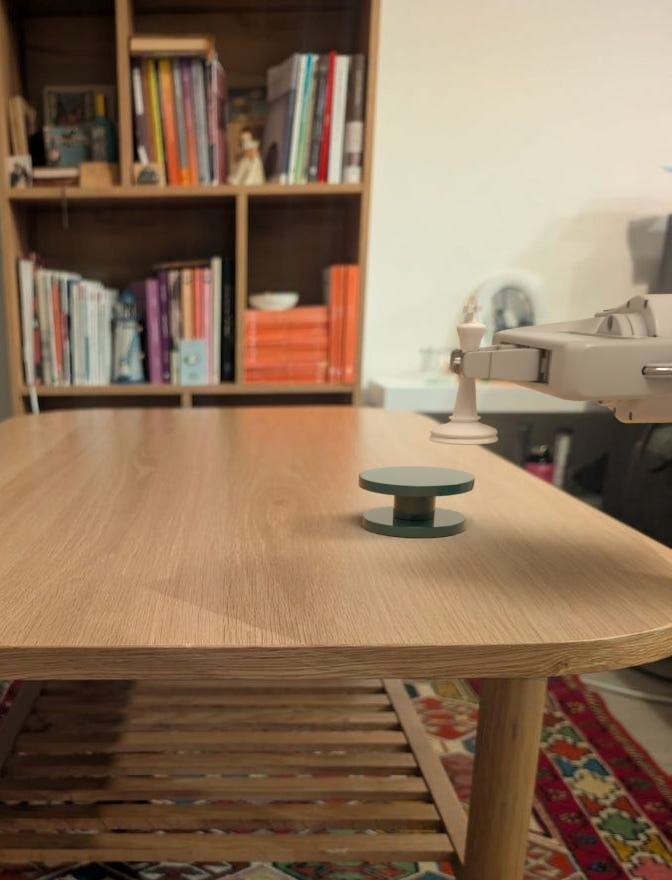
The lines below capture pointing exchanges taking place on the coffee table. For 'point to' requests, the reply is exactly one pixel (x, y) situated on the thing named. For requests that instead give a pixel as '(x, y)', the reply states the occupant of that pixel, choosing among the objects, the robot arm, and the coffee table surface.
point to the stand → (415, 500)
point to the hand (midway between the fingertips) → (456, 363)
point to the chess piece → (466, 392)
